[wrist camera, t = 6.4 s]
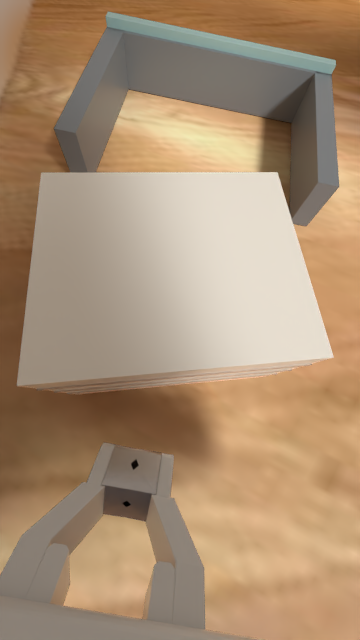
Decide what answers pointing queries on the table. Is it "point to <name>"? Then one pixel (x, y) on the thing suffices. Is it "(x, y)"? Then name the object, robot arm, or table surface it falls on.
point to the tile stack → (165, 282)
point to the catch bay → (208, 96)
